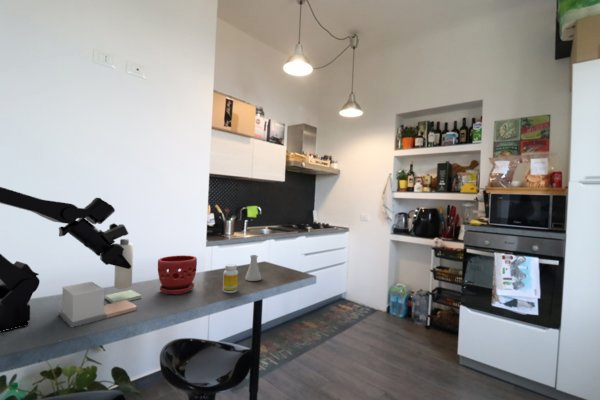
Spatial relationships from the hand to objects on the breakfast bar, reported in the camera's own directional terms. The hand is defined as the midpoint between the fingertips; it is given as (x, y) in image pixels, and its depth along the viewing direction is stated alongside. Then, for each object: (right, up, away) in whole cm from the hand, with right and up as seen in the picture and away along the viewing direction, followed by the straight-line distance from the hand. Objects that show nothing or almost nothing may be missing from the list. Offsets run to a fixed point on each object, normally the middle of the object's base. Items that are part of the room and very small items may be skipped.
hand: (128, 266), depth 97 cm
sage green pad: (-1, -11, -1) cm, 11 cm away
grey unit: (-4, -11, -15) cm, 19 cm away
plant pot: (+12, -11, +9) cm, 19 cm away
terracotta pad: (+3, -11, -10) cm, 15 cm away
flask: (+37, -12, +26) cm, 47 cm away
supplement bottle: (+31, -12, +10) cm, 35 cm away
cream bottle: (-1, -7, -1) cm, 7 cm away
